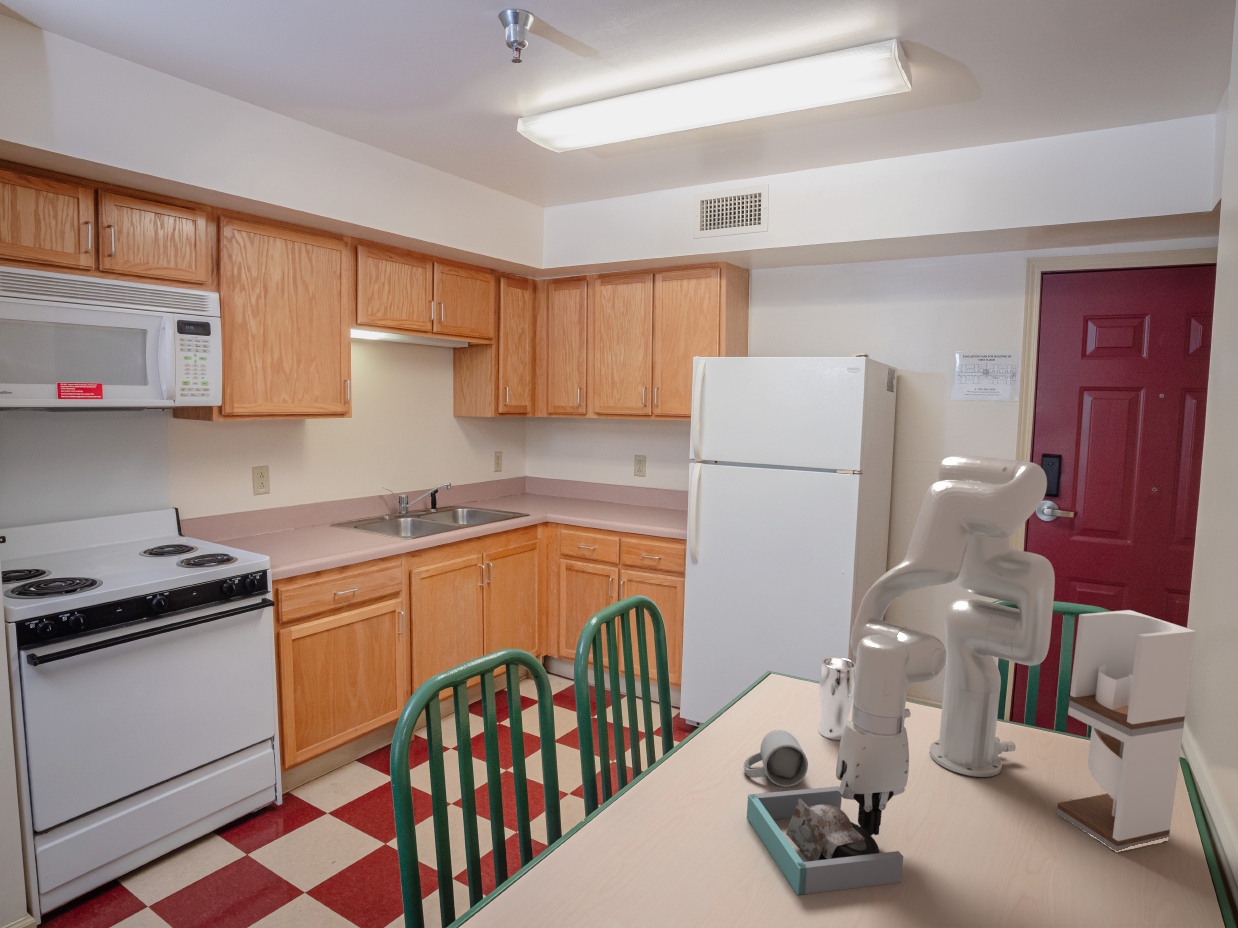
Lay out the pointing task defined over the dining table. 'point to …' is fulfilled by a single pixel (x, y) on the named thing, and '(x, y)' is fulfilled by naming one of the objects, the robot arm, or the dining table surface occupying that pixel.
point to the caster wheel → (828, 833)
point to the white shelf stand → (1130, 722)
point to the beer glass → (836, 695)
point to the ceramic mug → (779, 760)
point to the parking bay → (818, 872)
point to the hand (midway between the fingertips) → (868, 829)
